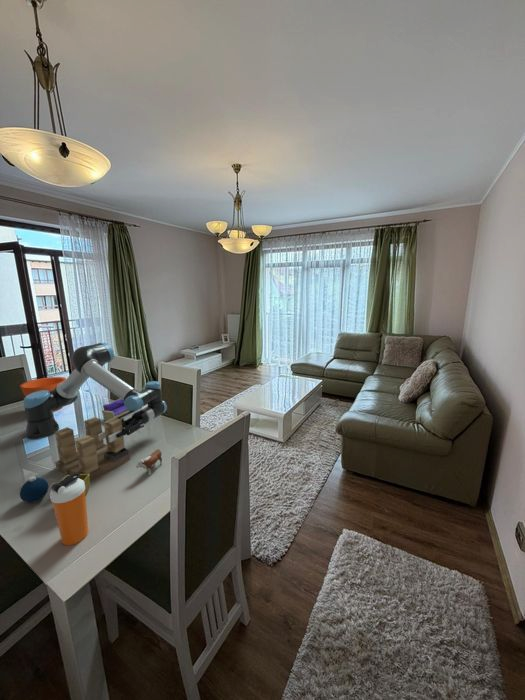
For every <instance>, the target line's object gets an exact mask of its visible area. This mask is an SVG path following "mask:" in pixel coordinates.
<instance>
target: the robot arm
mask: <svg viewBox="0 0 525 700" xmlns="http://www.w3.org/2000/svg"><path fill="white" fill-rule="evenodd" d="M114 358H115V353H114V348H113V347H112V346H111V345H110V344H109V343H107V342H98V343H95V344H90V345H85V346H81V347H77V348H76V349H75V350H74V351H73V353H72V355H71V359H70V360H71V365H72V366H73V368H74V370H72V371H71V373H70V374H69V375H68V376H67V378H66V380H65V381H64V382H62V383H59V384H58V385H57V386H56V388H55V389H53V390H51V391H47V390H42V391H38V392H34V393H31V394H29V395H27V396H26V397H25V396H24V398H23V408H24V411H25V412H24V413H25V416H26V417H25V418H26V421H27V424H26V428H25V434H24V435H25V438H26V439H28V440H37V439H38V440H39V439H42V438H47V437H50V436H52V435H55V432H56V431H59V430H60V426H59V424H58V421H57V420H56V419H55V417H54V412H53V411H54V410H56V409H59V408H61V407H62V408H64V407H66V406H68V405H71V404H73V403H75V402H76V401H77V399H78V398H79V389H80V388H81V387H82V386H83V385H84V383H86V382H87V381H88V379H89V378H91V380H93V381H94V382H97V383H98V384H99V385H100V386H102V387H104V388H105V389H106V390H107V391H109V392H111V393H112V394H113V395H115V396H116V397H118V399H122V400H123V401H124V405H125V407H126V409H127V410H129V411H130V412H133V414H132V415H131V417H129V418H127V419H125V418H124V417H123V418H120V419H121V420H122V428H123V429H122V430H119V431H117V432H115V433H114V434H112V435H110V436H108V439H109V442H112V441H114V440H115V439H117V438H119V437H121V436H122V435H123V436H130V435H131V434H134V433H135V432H136V431H138V430H139V429H143V428H144V427H145V425H146V424H148V423H149V422H152V421H153V420H154V419H156V418H158V417H159V416H161V415H163V414H164V413H165V412H166V411H167V409H168V405H167V404H166V403H167V402H165V400H163V396H162V395H163V394H162V388H161V383H160V381H157V380H153V381H152V380H151V381H148V382H146V383H145V384H144V385H145V389H142V390H140V391H138V390H137V389H136V388H134V387H133V386H131V385H130V384H129V383H127V382H125V381H124V380H123V379H121V378H119V377H118V376H117V375H115V374H114V373H113V372H111V371H109V370H108V369H106V368H105V367H104V366H105V364H107V363H110V362H112V361H113V360H114ZM62 408H61V409H62ZM98 436H99V440H102V439H103V440H104V439H106V435H105V430H104V431H102V433H101V434H99V435H98Z"/></svg>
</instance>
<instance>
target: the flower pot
mask: <svg viewBox="0 0 525 700" xmlns="http://www.w3.org/2000/svg"><path fill="white" fill-rule="evenodd" d="M68 476H70V475H68V474H66V475H65V476H64V477H63V478H62V479H61V480H60V481H62V480H63V479H65V478H66V477H68ZM79 479H81V480H83V481H84V483H85V498H86V497H87V495H88V493H89V490H90V483H91V482H90V474H80V476H79ZM89 482H90V483H89Z"/></svg>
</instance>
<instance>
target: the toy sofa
mask: <svg viewBox="0 0 525 700" xmlns="http://www.w3.org/2000/svg"><path fill="white" fill-rule="evenodd" d="M102 407H103V410H102V411H101V413H102V415H103V420H104V421H105V422H106V421H108V420H110V419H112V418H117V419H119V418H120V417H122V416H124V415H126V414H128V413H130V412H131V411H129V410H127V409H126V407H125V405H124V401H123V400H122V399H120V398H118V399H115V400H114V401H112V402H109V403H104V404H103V405H102Z"/></svg>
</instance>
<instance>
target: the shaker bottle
mask: <svg viewBox="0 0 525 700" xmlns="http://www.w3.org/2000/svg"><path fill="white" fill-rule="evenodd" d="M79 476H80V474H72V475H70V476H68V477H66V478H65V479H63V478H62V479H63V480H62V479H61V480H62V481H61V480H60V481H59V482H54V483H52V484H51V486H50V489H51V490H50V493H49V497H50V502H51V504H52V506H53V510H54V515H55V520H56V522H57V527H58V531H59V535H60V539H61V542H62V545H64V546H74V545H76V544H78V543H80V542H81V541H83V540H84V539H85V538H86V537H87V536H88V534H89V523H88V513H87V512H88V511H87V502H86V497H85V483H84V481H83V480H81V479H79Z"/></svg>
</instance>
